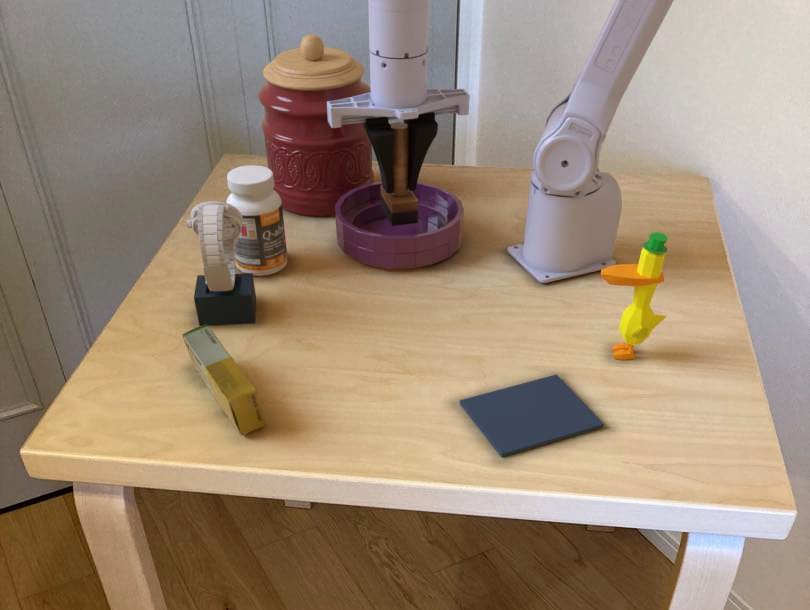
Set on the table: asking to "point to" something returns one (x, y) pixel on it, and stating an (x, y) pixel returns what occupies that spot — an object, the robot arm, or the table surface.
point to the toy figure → (638, 294)
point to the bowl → (399, 228)
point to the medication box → (225, 379)
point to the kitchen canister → (313, 127)
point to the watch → (221, 267)
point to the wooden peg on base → (400, 182)
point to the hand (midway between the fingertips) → (398, 188)
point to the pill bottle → (258, 221)
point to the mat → (530, 415)
